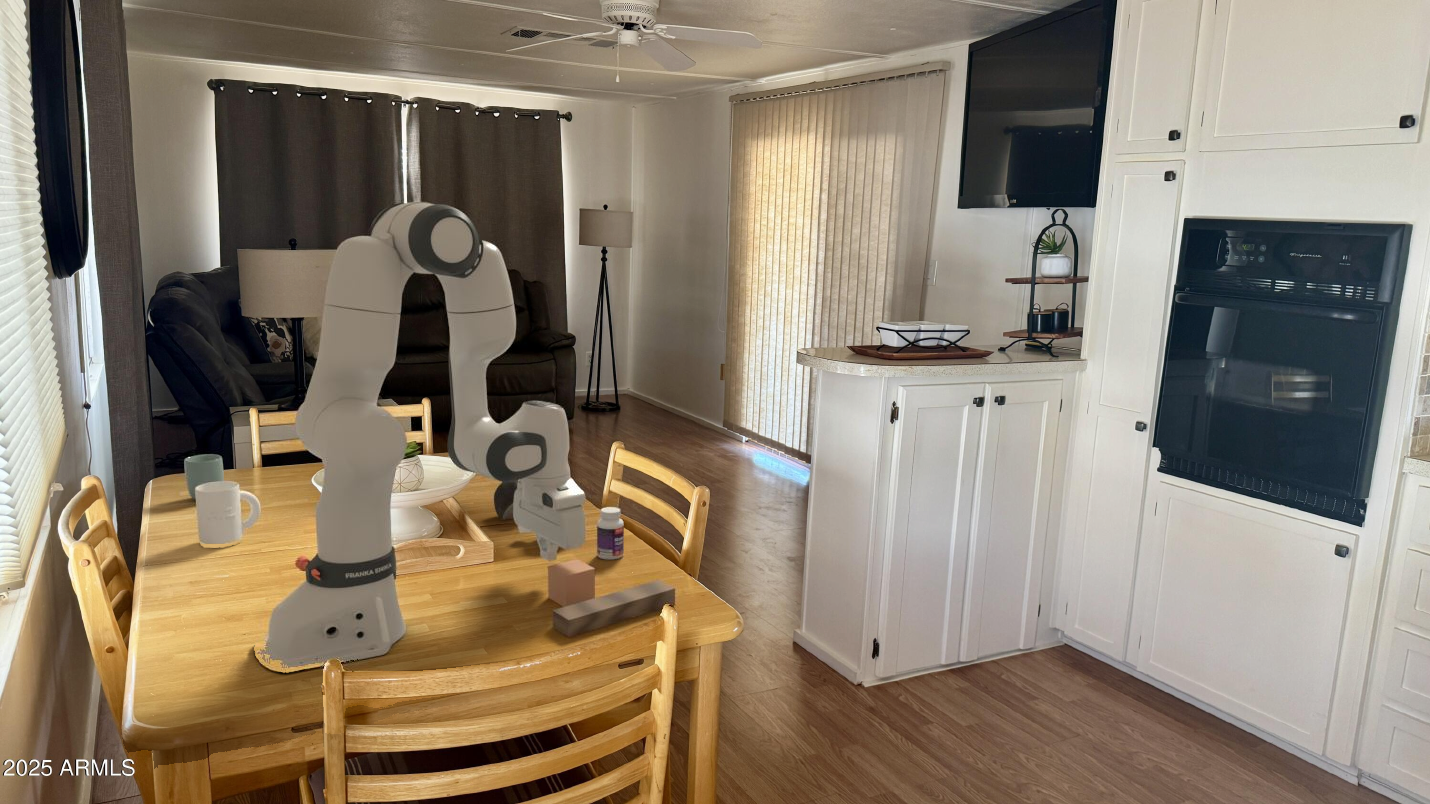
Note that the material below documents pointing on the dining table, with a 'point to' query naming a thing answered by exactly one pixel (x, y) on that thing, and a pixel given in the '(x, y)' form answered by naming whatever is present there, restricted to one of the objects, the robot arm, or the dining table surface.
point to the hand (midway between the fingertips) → (548, 558)
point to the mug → (223, 512)
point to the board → (612, 608)
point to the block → (571, 582)
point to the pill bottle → (610, 534)
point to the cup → (202, 471)
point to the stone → (505, 499)
